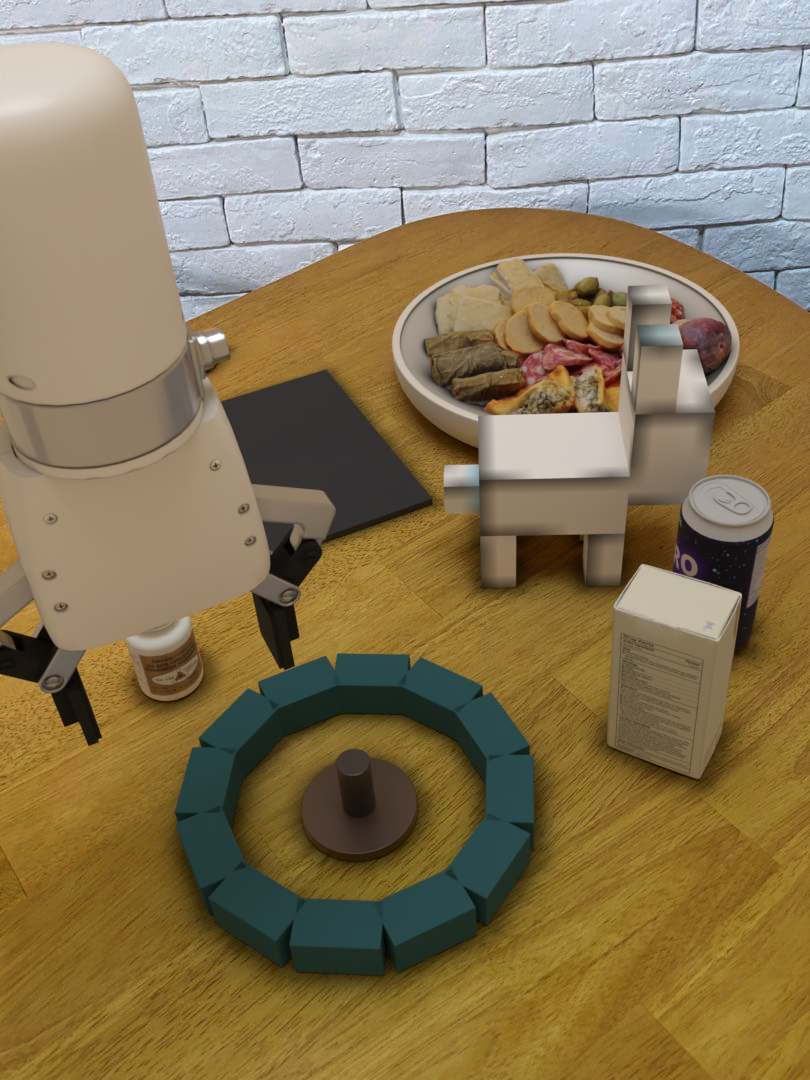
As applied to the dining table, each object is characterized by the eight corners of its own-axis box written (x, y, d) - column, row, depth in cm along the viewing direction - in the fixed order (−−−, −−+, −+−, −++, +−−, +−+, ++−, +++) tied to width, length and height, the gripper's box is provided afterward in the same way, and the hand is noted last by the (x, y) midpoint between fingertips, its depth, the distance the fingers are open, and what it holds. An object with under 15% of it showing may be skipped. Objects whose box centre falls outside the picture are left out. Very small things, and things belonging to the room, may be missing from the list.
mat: (167, 598, 83) (165, 592, 83) (95, 445, 99) (94, 439, 98) (433, 504, 90) (432, 498, 89) (326, 374, 105) (326, 369, 105)
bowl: (348, 453, 96) (339, 374, 90) (449, 284, 117) (446, 212, 112) (709, 508, 87) (722, 425, 82) (748, 315, 108) (760, 240, 103)
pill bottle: (160, 714, 75) (135, 632, 70) (128, 677, 78) (102, 596, 73) (216, 680, 77) (196, 598, 72) (183, 645, 80) (161, 564, 75)
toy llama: (448, 522, 88) (437, 292, 75) (675, 517, 87) (705, 283, 74) (447, 588, 82) (435, 352, 69) (690, 584, 81) (725, 343, 68)
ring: (257, 1041, 58) (249, 1015, 56) (146, 755, 72) (137, 727, 71) (601, 874, 64) (604, 846, 62) (436, 641, 78) (434, 613, 77)
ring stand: (329, 880, 65) (319, 831, 62) (285, 791, 70) (274, 742, 66) (437, 831, 67) (434, 782, 64) (388, 748, 72) (382, 699, 68)
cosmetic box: (723, 733, 71) (750, 593, 63) (699, 783, 68) (724, 643, 60) (626, 697, 74) (641, 558, 66) (600, 744, 71) (611, 605, 63)
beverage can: (701, 593, 80) (722, 459, 73) (767, 636, 77) (796, 499, 69) (647, 632, 78) (663, 497, 70) (713, 678, 74) (737, 541, 67)
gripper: (274, 292, 49) (320, 580, 60) (-141, 410, 44) (-7, 700, 55) (342, 373, 44) (378, 672, 55) (-121, 517, 39) (23, 814, 50)
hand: (185, 686), depth 55 cm, fingers open, 9 cm apart
